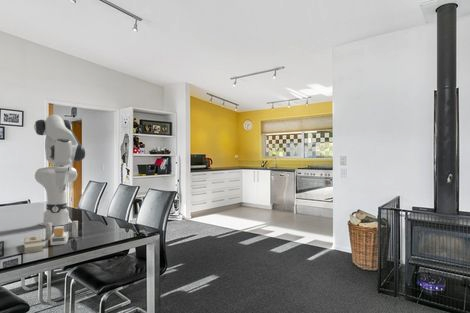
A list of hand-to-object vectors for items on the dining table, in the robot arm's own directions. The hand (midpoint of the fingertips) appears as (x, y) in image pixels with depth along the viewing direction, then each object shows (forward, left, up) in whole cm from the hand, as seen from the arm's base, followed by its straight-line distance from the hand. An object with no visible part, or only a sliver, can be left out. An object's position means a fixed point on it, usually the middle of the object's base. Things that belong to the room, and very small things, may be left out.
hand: (62, 191), depth 173 cm
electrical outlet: (+16, -11, -27) cm, 33 cm away
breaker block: (+9, 0, -26) cm, 28 cm away
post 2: (+1, +7, -26) cm, 27 cm away
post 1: (+1, -6, -26) cm, 27 cm away
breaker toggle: (+13, 0, -22) cm, 25 cm away
